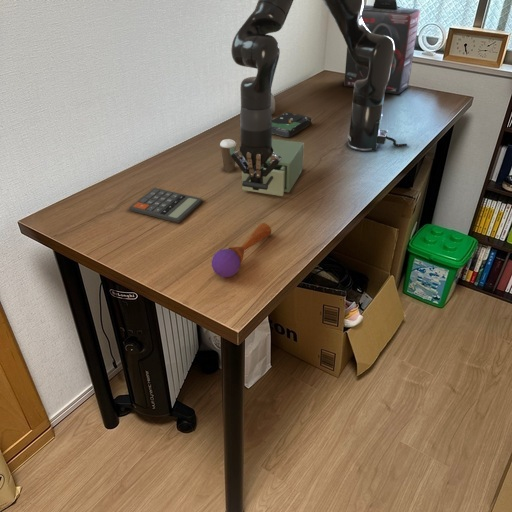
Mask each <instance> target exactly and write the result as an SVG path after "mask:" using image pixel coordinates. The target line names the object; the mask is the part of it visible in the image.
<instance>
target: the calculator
mask: <svg viewBox="0 0 512 512" xmlns="http://www.w3.org/2000/svg"><path fill="white" fill-rule="evenodd" d="M202 203H203V199H202V198H201V197H196V196H192V195H189V194H188V195H187V194H184V193H179V192H174V191H170V190H166V189H161V188H157V187H155V188H152V189H151V190H150V191H149V192H147V193H146V194H144V196H141V198H140V199H138V200H137V201H136V202H134V203H133V204H132V205H131V206H129V212H133V213H138V214H142V215H145V216H150V217H153V218H157V219H162V220H166V221H170V222H173V223H176V224H177V223H181V222H182V221H183V220H184V219H185V218H186V217H187V216H189V215H190V214H191V213H192V212H193V211H194V210H195V209H196V208H197V207H198V206H199V205H200V204H202Z"/></svg>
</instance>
